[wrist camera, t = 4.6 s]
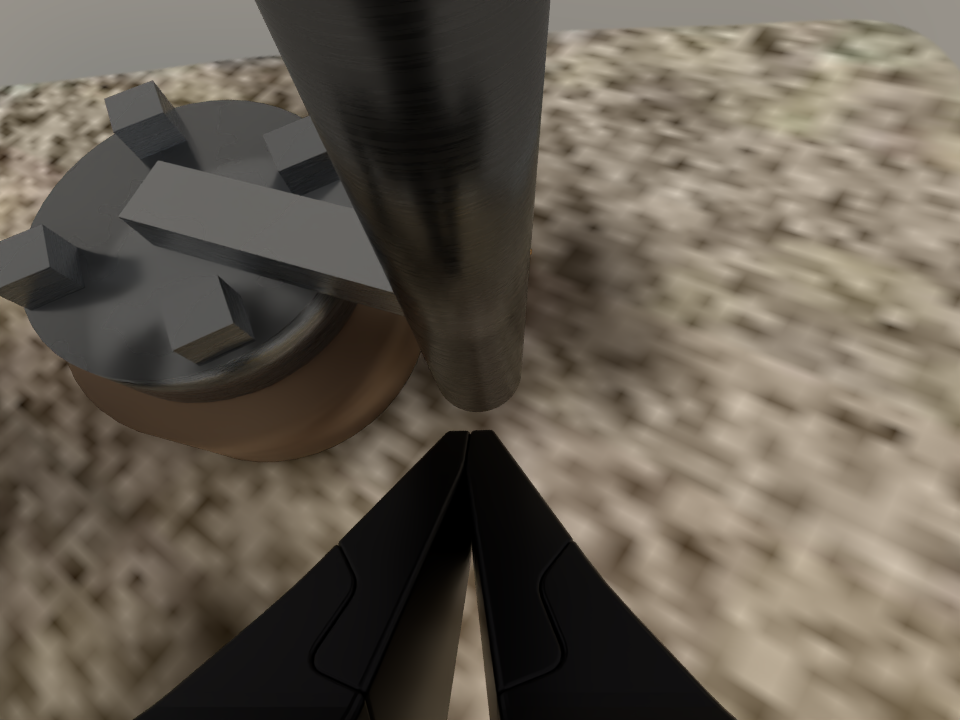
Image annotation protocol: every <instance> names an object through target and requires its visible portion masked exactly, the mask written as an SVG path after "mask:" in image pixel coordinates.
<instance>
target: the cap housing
mask: <svg viewBox="0 0 960 720" xmlns="http://www.w3.org/2000/svg"><path fill="white" fill-rule="evenodd" d="M531 253H532V250H531V252H530V255H531ZM420 351H421V349H420V347H419V345H418V343H417V341H416V339H415V337H414V334H413V332H412V330H411V328H410V326H409V324H408V322H407V320H406V318H405V317H404V316H400V315H397V314H393V313H390V312H386V311H383V310H379V309H376V308H372V307H369V306H365V305H362V304H358V303H357V305H356V307H355V309H354V311H353V312H352V314H351V316H350V318H349V319H348V320H347V322H346V323H345V325H344V326H343V327H342V329H341V330H340V332H339V333H338V334H337V335H336V336H335V337H334V338H333V340H332V341H331V342H330V343H329V344H328V345H327V346H326V347H325V348H324V349H323V350H322V351H321V352H320V353H319V354H317V355H316V356H315V357H314V358H313V359H312V360H311V361H309V362H308V363H307V364H305V365H304V366H302V367H301V368H300V369H298V370H297V371H295V372H294V373H292V374H291V375H289V376H287V377H286V378H284V379H282V380H280V381H278V382H276V383H274V384H273V385H271V386H268V387H266V388H263V389H261V390H258V391H256V392H253V393H251V394H247V395H244V396H240V397H236V398H233V399H228V400H222V401H215V402H204V403H185V402H176V401H168V400H164V399H161V398H157V397H153V396H150V395H147V394H144V393H142V392H139V391H137V390H134V389H132V388H129V387H126V386H124V385H121V384H119V383H116V382H113V381H111V380H108V379H106V378H103V377H101V376H98V375H95V374H93V373H90V372H88V371H86V370H83V369H81V368H79V367H77V366H74V365H72V364H70V363H69V362H67V363H68V365H69V367H70V369H71V372H72V374H73V376H74V378H75V380H76V382H77V383H78V384H79V386H80V387H81V389H82V390H83V392H84V393H85V394H86V396H87V397H88V398H89V399H90V400H91V401H92V402H93V403H94V404H95V405H96V406H97V407H98V408H99V409H100V410H101V411H103V412H104V413H106V414H107V415H109V416H110V417H112V418H113V419H114V420H116V421H117V422H119V423H121V424H123V425H125V426H128V427H130V428H132V429H134V430H136V431H139V432H142V433H146V434H149V435H153V436H156V437H160V438H164V439H167V440H171V441H174V442H178V443H182V444H185V445H189V446H192V447H196V448H200V449H203V450H207V451H210V452H214V453H218V454H221V455H225V456H228V457H232V458H236V459H239V460H247V461H255V462H279V461H285V460H292V459H298V458H302V457H306V456H309V455H313V454H316V453H319V452H321V451H324V450H326V449H329V448H331V447H333V446H336V445H338V444H340V443H341V442H343V441H345V440H347V439H348V438H350V437H352V436H354V435H355V434H357V433H358V432H359V431H361V430H362V429H363V428H365V427H366V426H367V425H369V424H370V423H371V422H372V421H374V420H375V419H376V418H377V417H378V416H379V415H380V414H381V413H382V412H383V411H384V410H385V409H386V408H387V407H388V406H389V405H390V403H391V402H392V401H393V400H394V399H395V397H396V396H397V395H398V394H399V392H400V391H401V389H402V388H403V386H404V385H405V383H406V381H407V380H408V378H409V377H410V375H411V373H412V370H413V368H414V366H415V364H416V362H417V360H418V357H419V354H420Z"/></svg>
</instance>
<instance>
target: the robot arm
mask: <svg viewBox="0 0 960 720" xmlns="http://www.w3.org/2000/svg"><path fill="white" fill-rule="evenodd" d="M338 545H339V546H338ZM338 545H335V546H334V547H333V548H332V549H331V550H330V551H329V552H328V553H327V554H326V555H325V556H324V557H323V558H322V559H321V560H320V561H319V562H318V563H317V564H316V565H315V566H314V567H313V568H312V569H311V570H310V571H309V572H308V573H307V574H306V575H305V576H304V577H303V578H302V579H301V580H299V581H298V582H297V583H296V584H295V585H294V586H293V587H292V588H291V589H290V590H289V591H288V592H286V593H285V594H284V595H283V596H282V597H281V598H280V599H279V600H277V601H276V602H275V603H274V604H273V605H272V606H271V607H269V608H268V609H267V610H266V611H265V612H264V613H263V614H261V615H260V616H259V617H258V618H257V619H256V620H254V621H253V622H252V623H251V624H250V625H249V626H247V627H246V628H245V629H244V630H243V631H241V632H240V633H239V634H238V635H237V636H236V637H234V638H233V639H232V640H231V641H230V642H228V643H227V644H226V645H225V646H224V647H223V648H221V649H220V650H219V651H218V652H217V653H215V654H214V655H213V656H212V657H211V658H209V659H208V660H207V661H206V662H205V663H204V664H202V665H201V666H200V667H199V668H198V669H196V670H195V671H194V672H193V673H192V674H191V675H189V676H188V677H187V678H186V679H185V680H183V681H182V682H181V683H180V684H179V685H178V686H176V687H175V688H174V689H173V690H172V691H170V692H169V693H168V694H167V695H165V696H164V697H163V698H162V699H160V700H159V701H158V702H157V703H155V704H154V705H153V706H152V707H150V708H149V709H147V710H146V711H144V712H143V713H142V714H140V715H139V716H137V717H136V718H134V719H133V720H447V716H448V709H449V703H450V696H451V689H452V683H453V676H454V669H455V663H456V656H457V649H458V643H459V636H460V630H461V623H462V616H463V610H464V603H465V596H466V590H467V583H468V576H469V570H470V562H471V553H473V566H474V575H475V585H476V594H477V603H478V613H479V622H480V632H481V641H482V650H483V660H484V669H485V678H486V688H487V697H488V706H489V716H490V720H737V719H736V718H735V717H734V716H733V715H731V714H730V713H729V712H728V711H727V710H726V709H725V708H724V707H723V706H722V705H721V704H720V703H719V702H718V701H717V700H716V699H715V698H714V697H713V696H712V695H711V694H710V693H709V692H708V691H707V690H706V689H705V688H704V687H703V686H702V685H701V684H700V683H699V682H698V681H697V680H696V679H695V678H694V676H693V675H692V674H691V673H690V672H689V671H688V670H687V669H686V668H685V667H684V666H683V665H682V664H681V663H680V662H679V661H678V660H677V658H676V657H675V656H674V655H673V654H672V653H671V652H670V651H669V650H668V649H667V648H666V647H665V646H664V645H663V644H662V643H661V642H660V641H659V639H658V638H657V637H656V636H655V635H654V634H653V633H652V632H651V631H650V630H649V629H648V628H647V627H646V626H645V625H644V624H643V623H642V621H641V620H640V619H639V618H638V617H637V616H636V615H635V614H634V613H633V612H632V611H631V610H630V609H629V607H628V606H627V605H626V604H625V603H624V602H623V601H622V600H621V599H620V597H619V596H618V595H617V594H616V593H615V592H614V591H613V590H612V589H611V587H610V586H609V585H608V584H607V583H606V581H605V580H604V579H603V578H602V576H601V575H600V574H599V573H598V571H597V570H596V569H595V568H594V566H593V565H592V564H591V563H590V561H589V560H588V559H587V557H586V556H585V555H584V553H583V552H582V550H581V549H580V548H579V546H578V545H577V544H576V542H574V541H573V539H572V537H571V536H570V534H569V533H568V532H567V530H566V529H565V528H564V526H563V525H562V524H561V522H560V521H559V519H558V518H557V517H556V515H555V514H554V513H553V511H552V510H551V509H550V507H549V506H548V504H547V503H546V502H545V500H544V499H543V498H542V496H541V495H540V494H539V492H538V491H537V489H536V488H535V487H534V485H533V484H532V483H531V481H530V480H529V479H528V477H527V476H526V474H525V473H524V472H523V470H522V469H521V468H520V466H519V465H518V464H517V462H516V461H515V460H514V458H513V457H512V455H511V454H510V453H509V451H508V450H507V449H506V447H505V446H504V445H503V443H502V442H501V440H500V439H499V438H498V436H497V435H496V434H495V432H494V431H492V430H475V431H472V432H471V434H470V432H468V431H449V432H447V433H446V434H445V435H444V436H443V437H442V438H441V439H440V440H439V441H438V442H437V443H436V444H435V445H434V446H433V447H432V448H431V449H430V450H429V451H428V452H427V453H426V454H425V455H424V456H423V457H422V458H421V459H420V460H419V461H418V462H417V463H416V464H415V465H414V466H413V467H412V468H411V469H410V470H409V471H408V472H407V473H406V474H405V475H404V476H403V477H402V478H401V479H400V480H399V481H398V482H397V484H396V485H395V486H394V487H393V488H392V489H391V490H390V491H389V492H388V493H387V494H386V495H385V496H384V497H383V498H382V499H381V500H380V501H379V502H378V503H377V504H376V505H375V506H374V507H373V508H372V509H371V510H370V511H369V512H368V513H367V514H366V515H365V516H364V517H363V518H362V519H361V520H360V521H359V522H358V523H357V524H356V525H355V526H354V527H353V528H352V529H351V530H350V531H349V532H348V533H347V534H346V535H345V536H344V537H343V538H342V539H341V540H340V541H339V543H338Z"/></svg>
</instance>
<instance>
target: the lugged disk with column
mask: <svg viewBox="0 0 960 720" xmlns="http://www.w3.org/2000/svg"><path fill="white" fill-rule="evenodd" d="M255 1H256V4H257V6H258V8H259V10H260V12H261V14H262V16H263V19H264V21H265V23H266V25H267V27H268V29H269V31H270V33H271V35H272V38H273V40H274V42H275V44H276V46H277V48H278V50H279V52H280V54H281V56H282V59H283V61H284V63H285V65H286V67H287V69H288V71H289V73H290V75H291V78H292V80H293V82H294V84H295V86H296V88H297V90H298V92H299V94H300V97H301V99H302V101H303V103H304V105H305V107H306V109H307V111H308V113H309V115H310V116H307V117H305V118H303V119H302V118H301V117H299V116H297V115H296V114H293V113H291V112H289V111H286V110H284V109H281V108H278V107H275V106H271V105H268V104H264V103H258V102H251V101H241V100H218V101H206V102H200V103H193V104H188V105H184V106H180V107H176V108H174V107H173V106H172V104H171V103H170V102H169V101H168V99H167V98H166V97H165V95H164V94H163V93H162V92H161V90H160V89H159V88H158V87H157V85H156V84H155V83H154V81H153V80H152V81H150V82H147V83H144V84H142V85H139V86H137V87H134V88H131V89H129V90H126V91H124V92H121V93H118V94H116V95H113V96H110V97H108V98H105V99H104V100H105V103H106V107H107V111H108V114H109V118H110V122H111V126H112V129H113V132H114V133H115V134H114V135H112V136H111V137H109V138H108V139H106V140H105V141H103V142H102V143H100V144H99V145H97V146H96V147H95V148H94V149H92V150H91V151H90V152H89V153H87V154H86V155H85V156H84V157H82V158H81V159H80V160H79V161H78V162H77V163H76V164H75V165H74V166H73V167H72V168H71V169H70V170H69V171H68V172H67V173H66V174H65V175H64V176H63V178H62V179H61V180H60V181H59V182H58V183H57V185H56V186H55V187H54V188H53V190H52V191H51V193H50V194H49V195H48V197H47V198H46V200H45V201H44V202H43V204H42V206H41V208H40V210H39V211H38V213H37V215H36V217H35V219H34V220H33V223H32V225H31V228H30V229H29V230H27V231H24V232H22V233H19V234H17V235H14V236H12V237H9V238H7V239H4V240H2V241H0V296H1V297H3V298H5V299H8V300H10V301H12V302H14V303H16V304H18V305H20V306H23V307H24V309H25V311H26V314H27V316H28V318H29V321H30V323H31V325H32V327H33V328H34V330H35V331H36V333H37V334H38V335H39V337H40V338H41V340H42V341H43V342H44V343H45V344H46V345H47V346H48V347H49V348H50V349H51V350H52V351H53V352H54V353H55V354H57V355H58V356H60V357H61V358H63V359H64V360H66V361H67V362H69V363H70V364H72V365H74V366H77V367H79V368H81V369H83V370H86V371H88V372H90V373H93V374H95V375H98V376H101V377H103V378H106V379H108V380H111V381H113V382H116V383H119V384H121V385H124V386H126V387H129V388H132V389H134V390H137V391H139V392H142V393H144V394H147V395H150V396H153V397H157V398H161V399H164V400H168V401H176V402H185V403H204V402H215V401H222V400H228V399H233V398H236V397H240V396H244V395H247V394H251V393H253V392H256V391H258V390H261V389H263V388H266V387H268V386H271V385H273V384H274V383H276V382H278V381H280V380H282V379H284V378H286V377H287V376H289V375H291V374H292V373H294V372H295V371H297V370H298V369H300V368H301V367H302V366H304V365H305V364H307V363H308V362H309V361H311V360H312V359H313V358H314V357H315V356H316V355H317V354H319V353H320V352H321V351H322V350H323V349H324V348H325V347H326V346H327V345H328V344H329V343H330V342H331V341H332V340H333V338H334V337H335V336H336V335H337V334H338V333H339V332H340V330H341V329H342V327H343V326H344V325H345V323H346V322H347V320H348V319H349V318H350V316H351V314H352V312H353V311H354V309H355V307H356V305H357V303H358V304H362V305H365V306H369V307H372V308H376V309H379V310H383V311H386V312H390V313H393V314H397V315H400V316H404V317H405V318H406V320H407V322H408V324H409V326H410V328H411V330H412V332H413V334H414V337H415V339H416V341H417V343H418V345H419V347H420V349H421V351H422V353H423V356H424V358H425V360H426V362H427V364H428V366H429V368H430V370H431V372H432V374H433V377H434V379H435V381H436V383H437V385H438V387H439V389H440V391H441V393H442V394H443V396H444V397H445V398H446V399H447V400H448V401H449V402H450V403H452V404H453V405H455V406H456V407H458V408H460V409H463V410H467V411H472V412H483V411H488V410H492V409H494V408H497V407H499V406H500V405H502V404H504V403H505V402H506V401H507V400H508V399H509V398H510V397H511V396H512V395H513V394H514V392H515V391H516V389H517V387H518V384H519V381H520V377H521V367H522V354H523V341H524V328H525V316H526V303H527V290H528V277H529V265H530V252H531V239H532V226H533V214H534V201H535V188H536V175H537V163H538V150H539V137H540V124H541V112H542V99H543V86H544V73H545V61H546V48H547V35H548V22H549V10H550V0H255Z"/></svg>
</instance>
